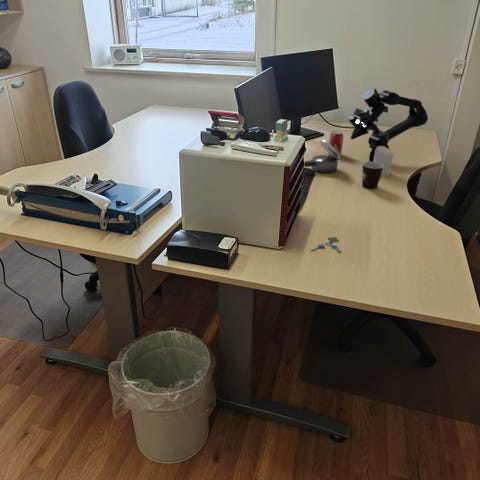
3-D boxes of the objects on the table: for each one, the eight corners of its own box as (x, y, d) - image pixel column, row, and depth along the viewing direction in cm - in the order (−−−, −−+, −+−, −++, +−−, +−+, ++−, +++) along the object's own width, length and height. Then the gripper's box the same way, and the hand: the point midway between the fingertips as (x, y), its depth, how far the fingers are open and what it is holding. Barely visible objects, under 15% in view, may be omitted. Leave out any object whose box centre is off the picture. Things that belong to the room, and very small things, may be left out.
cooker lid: (329, 154, 217) (332, 150, 217) (343, 161, 208) (346, 157, 208) (315, 138, 210) (319, 134, 210) (329, 145, 201) (333, 141, 200)
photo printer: (390, 175, 207) (395, 150, 200) (382, 176, 205) (387, 150, 199) (378, 168, 215) (382, 143, 209) (370, 169, 214) (374, 144, 208)
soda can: (337, 157, 228) (340, 134, 222) (325, 155, 232) (327, 132, 226) (343, 154, 233) (346, 131, 227) (331, 151, 237) (333, 129, 231)
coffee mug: (380, 191, 190) (384, 169, 185) (359, 189, 192) (363, 167, 187) (378, 181, 200) (382, 160, 195) (358, 179, 201) (362, 158, 197)
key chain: (330, 236, 155) (331, 234, 155) (352, 244, 151) (352, 241, 150) (309, 252, 146) (310, 249, 145) (331, 260, 141) (332, 258, 141)
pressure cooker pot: (327, 163, 220) (328, 154, 217) (341, 171, 210) (342, 161, 208) (295, 168, 213) (296, 158, 211) (308, 176, 204) (309, 166, 201)
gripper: (353, 98, 212) (331, 123, 214) (378, 106, 197) (354, 133, 199) (364, 113, 219) (343, 137, 220) (389, 122, 204) (366, 148, 205)
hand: (351, 138), depth 211 cm, fingers closed
